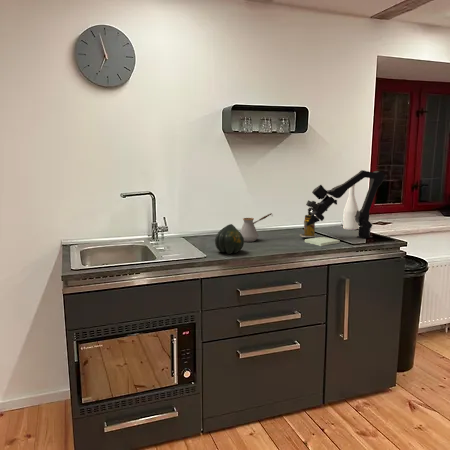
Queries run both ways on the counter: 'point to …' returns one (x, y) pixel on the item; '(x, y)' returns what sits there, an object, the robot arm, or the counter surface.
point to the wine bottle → (350, 212)
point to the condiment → (308, 228)
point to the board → (322, 241)
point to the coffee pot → (250, 229)
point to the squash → (229, 240)
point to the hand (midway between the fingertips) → (305, 224)
